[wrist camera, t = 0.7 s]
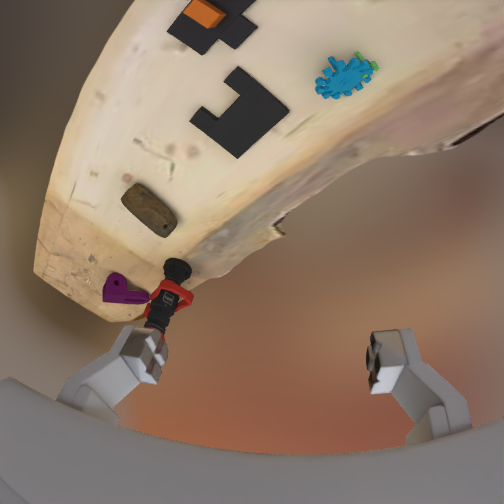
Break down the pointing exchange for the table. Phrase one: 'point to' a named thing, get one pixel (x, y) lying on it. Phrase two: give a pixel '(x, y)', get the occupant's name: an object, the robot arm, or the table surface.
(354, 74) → the gear
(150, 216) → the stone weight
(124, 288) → the mounting bracket
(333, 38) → the table surface
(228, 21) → the pad
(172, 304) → the fire hose nozzle
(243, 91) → the socket pad
